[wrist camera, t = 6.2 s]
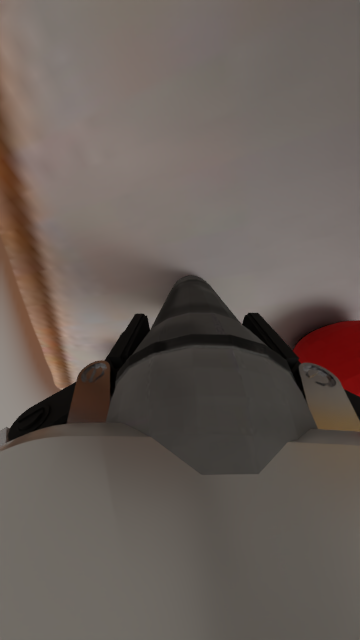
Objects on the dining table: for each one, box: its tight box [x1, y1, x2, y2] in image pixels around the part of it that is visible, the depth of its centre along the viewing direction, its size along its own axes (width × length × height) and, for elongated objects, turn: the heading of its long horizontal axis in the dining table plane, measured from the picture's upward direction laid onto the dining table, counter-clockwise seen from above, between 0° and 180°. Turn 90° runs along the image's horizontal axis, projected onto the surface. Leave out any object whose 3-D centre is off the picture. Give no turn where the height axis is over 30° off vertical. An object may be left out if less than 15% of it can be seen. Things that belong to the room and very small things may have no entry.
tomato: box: [293, 321, 360, 397], centre depth 15 cm, size 11×12×10 cm
